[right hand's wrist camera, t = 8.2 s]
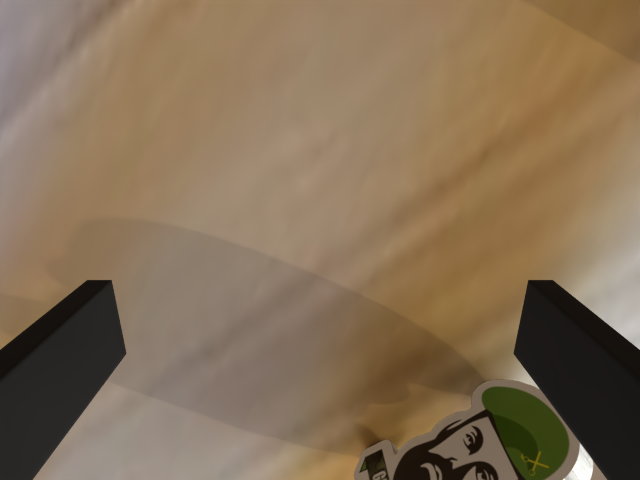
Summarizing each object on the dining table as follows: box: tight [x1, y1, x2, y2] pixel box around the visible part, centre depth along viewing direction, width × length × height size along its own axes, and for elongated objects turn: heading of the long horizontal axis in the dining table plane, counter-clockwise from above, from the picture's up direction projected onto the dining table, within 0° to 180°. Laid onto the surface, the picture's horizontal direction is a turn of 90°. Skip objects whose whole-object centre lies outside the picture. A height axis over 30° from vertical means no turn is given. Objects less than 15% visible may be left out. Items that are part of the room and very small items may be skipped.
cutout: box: [354, 379, 593, 480], centre depth 42 cm, size 15×3×25 cm
